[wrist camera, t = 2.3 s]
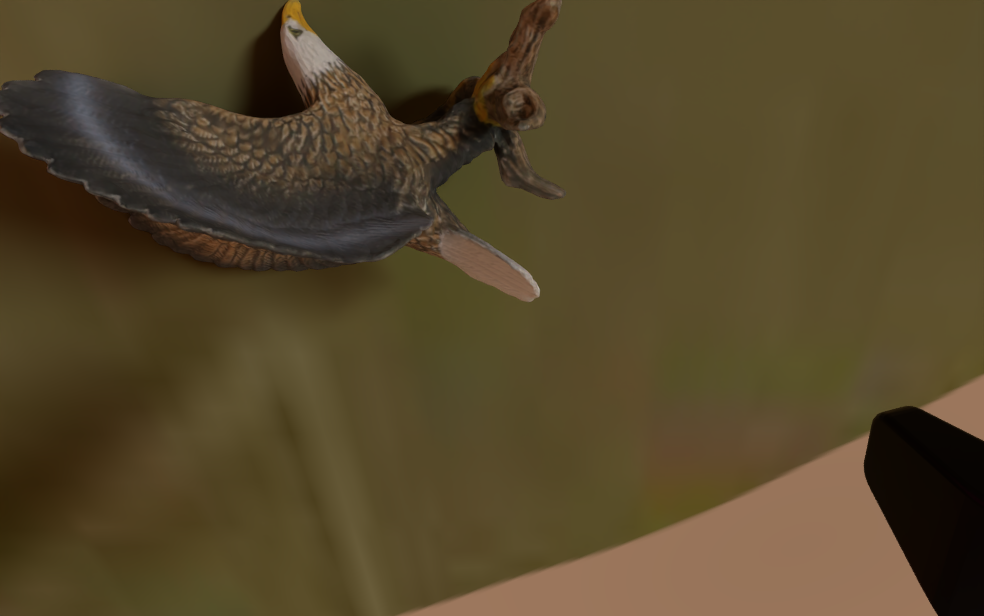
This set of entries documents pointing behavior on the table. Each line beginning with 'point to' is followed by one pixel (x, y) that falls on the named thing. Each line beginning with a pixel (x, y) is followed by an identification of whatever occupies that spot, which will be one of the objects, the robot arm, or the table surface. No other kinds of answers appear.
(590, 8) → the table surface
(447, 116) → the eagle figurine
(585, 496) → the table surface
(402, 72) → the table surface
